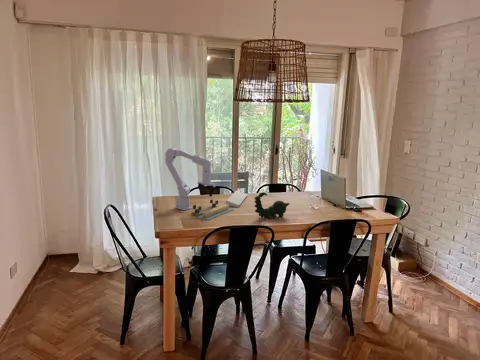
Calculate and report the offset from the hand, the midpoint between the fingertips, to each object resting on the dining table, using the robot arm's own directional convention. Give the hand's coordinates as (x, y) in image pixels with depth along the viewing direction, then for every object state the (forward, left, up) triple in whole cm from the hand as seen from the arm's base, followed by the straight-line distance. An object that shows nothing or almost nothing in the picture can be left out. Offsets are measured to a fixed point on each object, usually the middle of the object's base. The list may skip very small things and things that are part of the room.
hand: (206, 195), depth 249 cm
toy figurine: (+45, +14, -11) cm, 48 cm away
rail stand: (+2, -3, -10) cm, 11 cm away
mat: (+11, -3, -10) cm, 15 cm away
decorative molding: (+4, +34, -11) cm, 36 cm away
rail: (+11, -3, -10) cm, 15 cm away
